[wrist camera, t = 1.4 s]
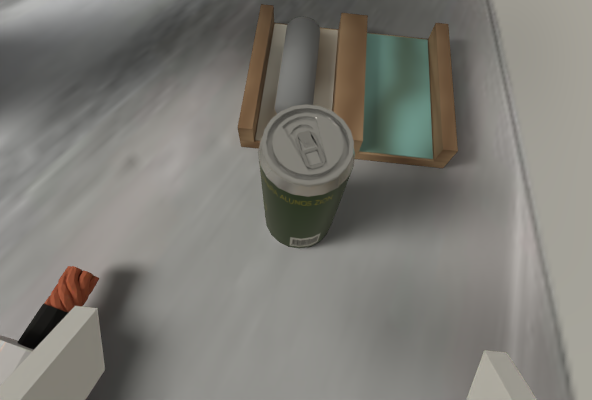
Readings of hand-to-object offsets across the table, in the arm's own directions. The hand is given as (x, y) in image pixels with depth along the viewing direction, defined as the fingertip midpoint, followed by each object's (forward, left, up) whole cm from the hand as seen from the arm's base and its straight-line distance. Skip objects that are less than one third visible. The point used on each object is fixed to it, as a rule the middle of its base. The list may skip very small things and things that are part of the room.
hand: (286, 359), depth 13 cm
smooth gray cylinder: (-19, +14, -14) cm, 28 cm away
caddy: (-16, +18, -15) cm, 28 cm away
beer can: (-8, +7, -15) cm, 19 cm away
